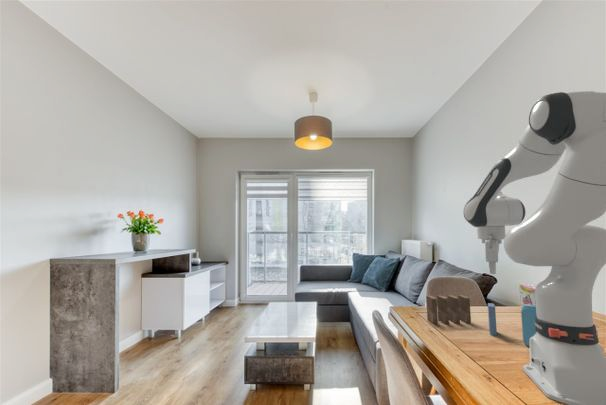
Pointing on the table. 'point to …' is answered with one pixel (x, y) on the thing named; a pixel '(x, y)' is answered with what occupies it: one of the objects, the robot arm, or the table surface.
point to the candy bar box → (527, 295)
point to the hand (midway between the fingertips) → (492, 271)
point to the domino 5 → (492, 319)
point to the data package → (528, 323)
